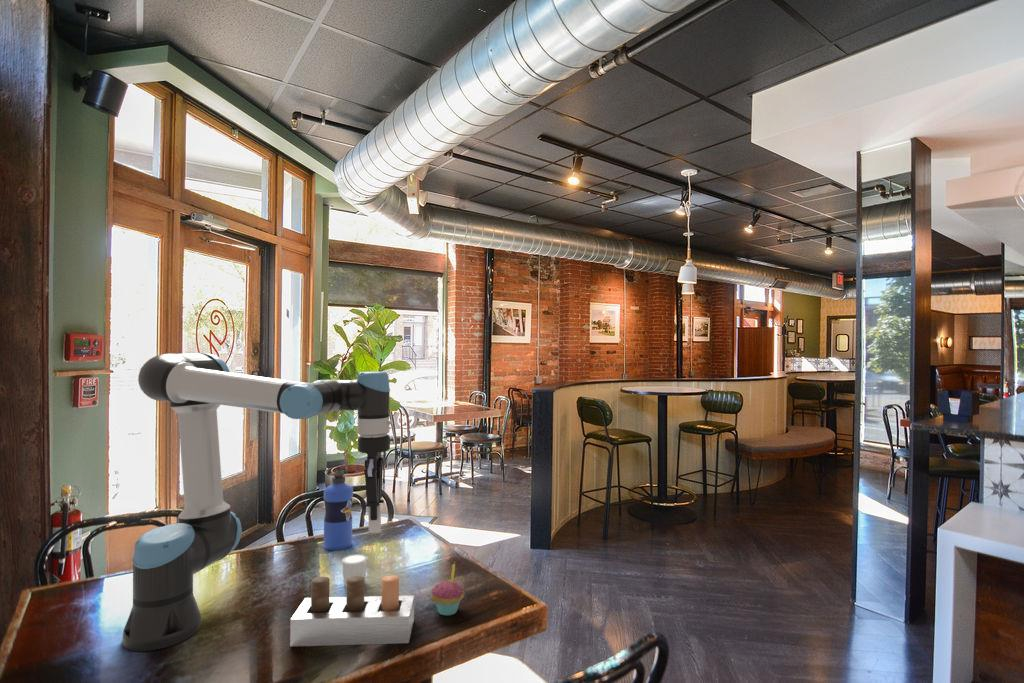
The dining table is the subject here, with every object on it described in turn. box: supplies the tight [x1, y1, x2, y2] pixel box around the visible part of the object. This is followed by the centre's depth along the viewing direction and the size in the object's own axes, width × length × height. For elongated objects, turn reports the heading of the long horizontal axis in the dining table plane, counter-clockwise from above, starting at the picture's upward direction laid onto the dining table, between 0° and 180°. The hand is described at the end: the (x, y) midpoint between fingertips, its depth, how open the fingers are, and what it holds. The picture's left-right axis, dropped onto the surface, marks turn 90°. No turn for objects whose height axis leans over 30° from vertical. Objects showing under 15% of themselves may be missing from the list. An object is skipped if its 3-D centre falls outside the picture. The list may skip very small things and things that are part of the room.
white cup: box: [341, 553, 368, 588], centre depth 149 cm, size 7×7×7 cm
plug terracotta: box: [380, 574, 400, 611], centre depth 124 cm, size 4×4×7 cm
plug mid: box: [345, 576, 365, 612], centre depth 123 cm, size 4×4×7 cm
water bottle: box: [323, 469, 354, 552], centre depth 177 cm, size 9×9×25 cm
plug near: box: [310, 576, 331, 613], centre depth 123 cm, size 4×4×7 cm
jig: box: [289, 595, 415, 648], centre depth 123 cm, size 26×10×6 cm, turn 94°
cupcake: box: [430, 561, 466, 616], centre depth 133 cm, size 9×8×12 cm
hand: (374, 531), depth 129 cm, fingers closed
